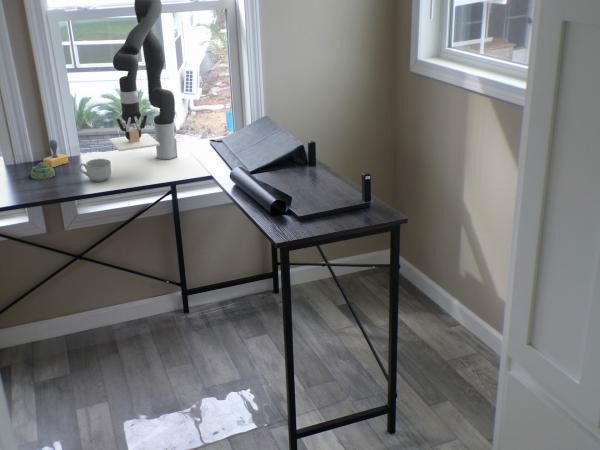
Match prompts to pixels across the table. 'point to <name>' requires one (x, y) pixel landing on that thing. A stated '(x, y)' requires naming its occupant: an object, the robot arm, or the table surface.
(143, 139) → the square lid with knob
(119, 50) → the robot arm
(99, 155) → the table surface
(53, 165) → the rubber stamp
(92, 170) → the teacup
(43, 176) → the decorative artifact
